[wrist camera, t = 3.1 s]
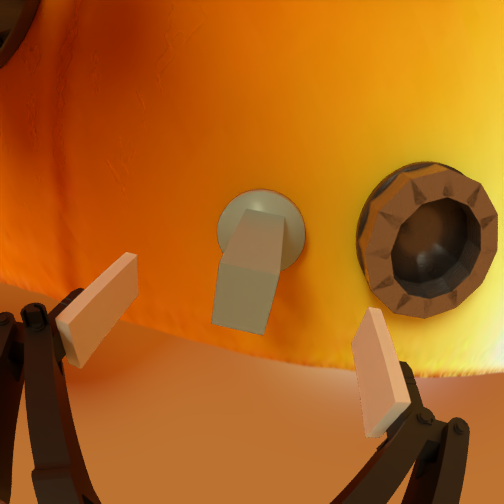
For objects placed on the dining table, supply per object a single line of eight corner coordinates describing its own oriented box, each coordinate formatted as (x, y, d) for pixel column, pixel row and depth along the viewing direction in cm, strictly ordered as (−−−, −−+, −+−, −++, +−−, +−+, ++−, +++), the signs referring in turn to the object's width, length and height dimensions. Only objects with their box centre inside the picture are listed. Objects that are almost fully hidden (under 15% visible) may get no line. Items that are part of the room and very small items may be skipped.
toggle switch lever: (215, 258, 26) (177, 333, 17) (226, 181, 23) (183, 226, 14) (293, 275, 26) (291, 359, 17) (313, 199, 23) (327, 257, 14)
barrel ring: (336, 284, 26) (341, 306, 23) (380, 140, 20) (393, 144, 17) (448, 306, 25) (460, 326, 22) (497, 189, 20) (517, 199, 17)
